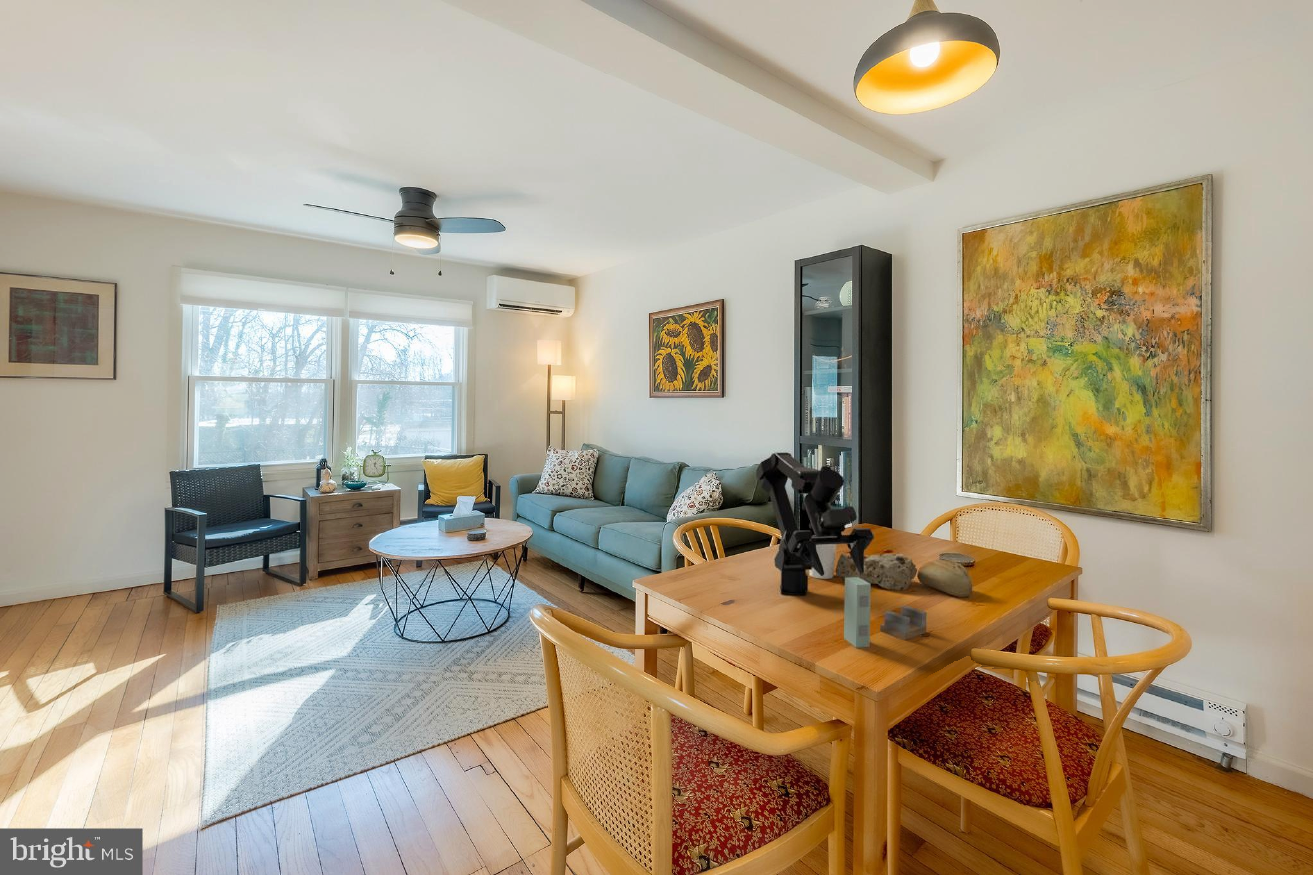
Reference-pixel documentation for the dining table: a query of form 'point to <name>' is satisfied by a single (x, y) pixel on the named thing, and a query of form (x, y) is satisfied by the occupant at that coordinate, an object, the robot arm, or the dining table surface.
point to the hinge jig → (904, 623)
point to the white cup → (825, 561)
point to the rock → (880, 570)
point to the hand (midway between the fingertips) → (842, 574)
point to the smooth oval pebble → (946, 577)
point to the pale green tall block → (857, 612)
